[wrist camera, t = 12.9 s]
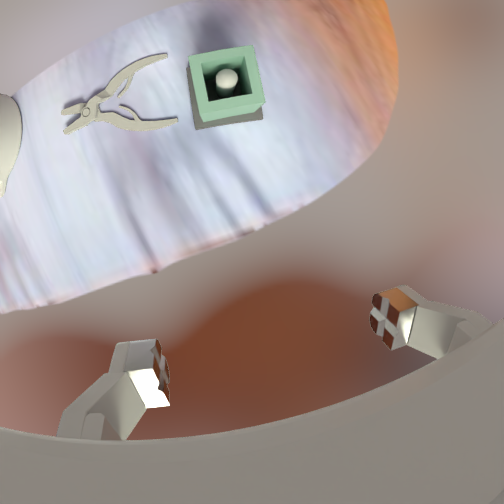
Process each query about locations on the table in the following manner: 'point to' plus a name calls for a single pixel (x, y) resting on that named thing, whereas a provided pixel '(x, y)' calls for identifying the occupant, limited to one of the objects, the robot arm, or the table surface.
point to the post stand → (217, 90)
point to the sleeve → (248, 76)
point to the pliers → (93, 112)
